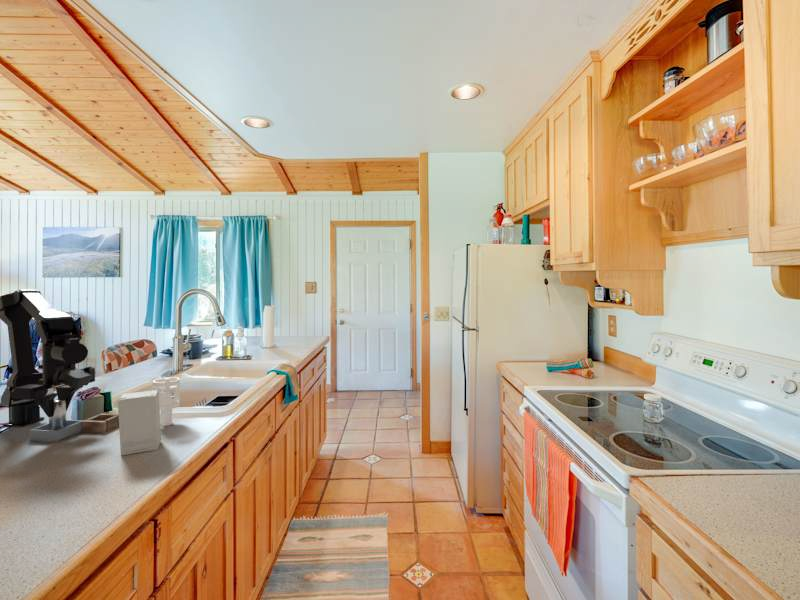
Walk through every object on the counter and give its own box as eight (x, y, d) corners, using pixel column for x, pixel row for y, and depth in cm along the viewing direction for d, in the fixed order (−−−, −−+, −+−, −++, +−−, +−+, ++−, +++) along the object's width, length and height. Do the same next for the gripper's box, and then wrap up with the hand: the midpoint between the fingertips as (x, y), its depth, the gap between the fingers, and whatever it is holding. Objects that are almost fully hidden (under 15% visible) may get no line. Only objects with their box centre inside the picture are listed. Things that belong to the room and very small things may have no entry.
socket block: (81, 431, 105) (81, 421, 105) (101, 422, 112) (101, 413, 112) (103, 432, 105) (103, 422, 105) (121, 423, 111) (121, 414, 111)
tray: (29, 440, 98) (29, 430, 98) (58, 429, 106) (58, 419, 106) (57, 441, 98) (57, 431, 98) (83, 430, 106) (83, 420, 106)
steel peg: (45, 430, 100) (45, 402, 100) (57, 425, 104) (57, 398, 104) (57, 431, 100) (57, 402, 100) (69, 426, 104) (69, 399, 103)
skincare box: (161, 441, 99) (161, 388, 99) (157, 451, 94) (157, 394, 94) (123, 447, 96) (123, 392, 95) (117, 457, 90) (117, 398, 90)
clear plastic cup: (153, 430, 107) (153, 380, 107) (151, 422, 113) (151, 375, 112) (181, 424, 112) (181, 377, 111) (178, 418, 117) (177, 372, 117)
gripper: (50, 368, 92) (51, 428, 92) (112, 354, 110) (112, 404, 111) (8, 367, 92) (10, 427, 93) (77, 353, 111) (77, 403, 111)
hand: (57, 414), depth 102 cm, fingers closed on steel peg, 3 cm apart
